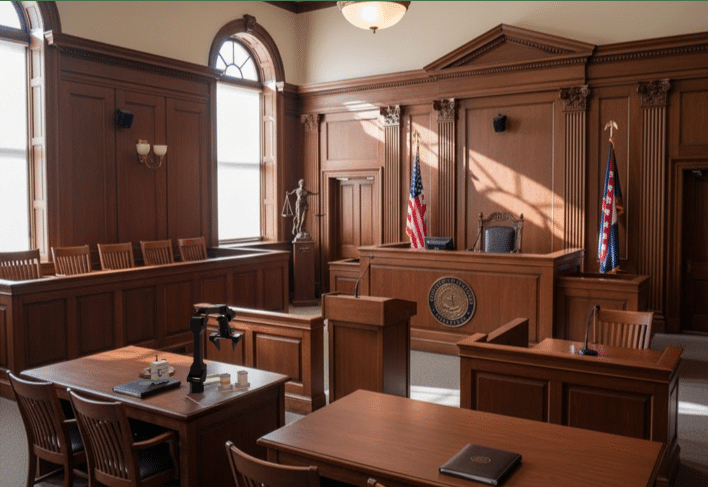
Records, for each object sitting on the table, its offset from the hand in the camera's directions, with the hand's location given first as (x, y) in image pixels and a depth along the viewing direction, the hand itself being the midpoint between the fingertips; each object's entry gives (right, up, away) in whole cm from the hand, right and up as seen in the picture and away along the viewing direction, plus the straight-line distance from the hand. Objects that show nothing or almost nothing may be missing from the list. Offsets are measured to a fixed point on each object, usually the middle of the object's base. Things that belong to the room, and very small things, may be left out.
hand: (227, 351), depth 376 cm
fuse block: (+8, -17, -24) cm, 30 cm away
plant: (-43, -15, +11) cm, 47 cm away
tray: (-7, -16, -8) cm, 19 cm away
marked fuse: (+4, -16, -27) cm, 31 cm away
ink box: (-35, -16, -9) cm, 40 cm away
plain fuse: (+12, -15, -21) cm, 29 cm away
